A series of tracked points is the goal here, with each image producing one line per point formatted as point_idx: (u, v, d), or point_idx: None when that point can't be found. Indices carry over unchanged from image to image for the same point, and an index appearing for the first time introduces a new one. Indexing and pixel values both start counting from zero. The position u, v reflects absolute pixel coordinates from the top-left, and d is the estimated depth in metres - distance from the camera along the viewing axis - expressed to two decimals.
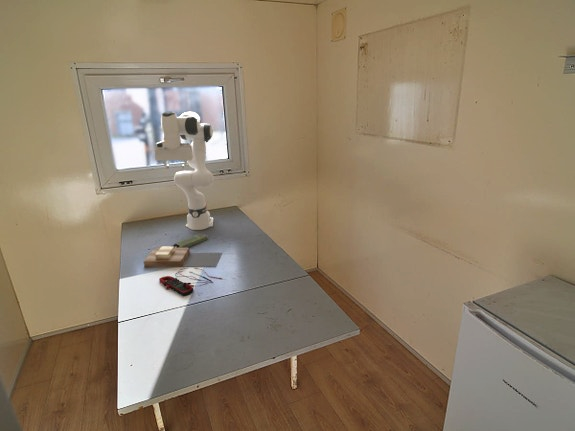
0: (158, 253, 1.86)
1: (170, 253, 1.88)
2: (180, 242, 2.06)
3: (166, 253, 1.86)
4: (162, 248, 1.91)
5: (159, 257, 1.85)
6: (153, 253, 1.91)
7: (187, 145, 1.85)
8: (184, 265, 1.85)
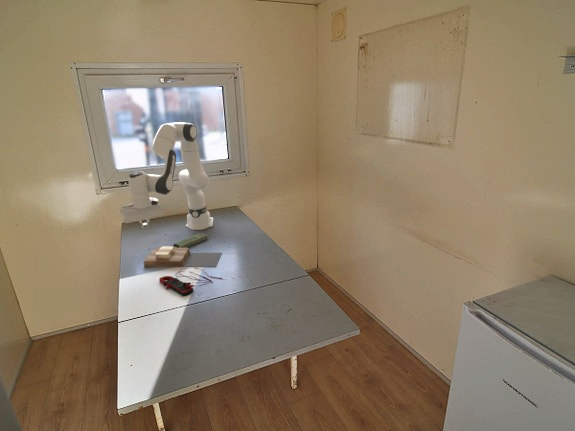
0: (158, 253, 1.86)
1: (170, 253, 1.88)
2: (180, 242, 2.06)
3: (166, 253, 1.86)
4: (162, 248, 1.91)
5: (159, 257, 1.85)
6: (153, 253, 1.91)
7: None
8: (184, 265, 1.85)
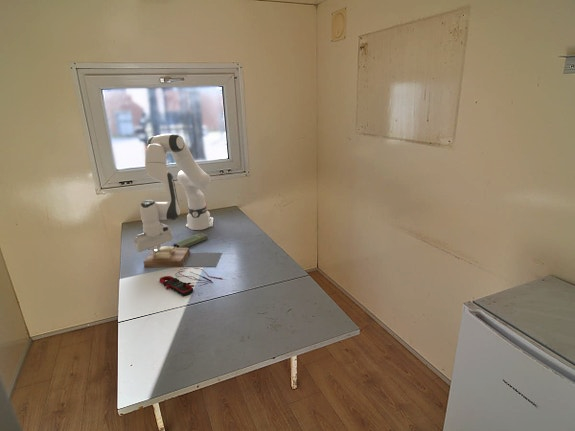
0: (158, 253, 1.86)
1: (170, 253, 1.88)
2: (180, 242, 2.06)
3: (166, 253, 1.86)
4: (162, 248, 1.91)
5: (159, 257, 1.85)
6: None
7: None
8: (184, 265, 1.85)
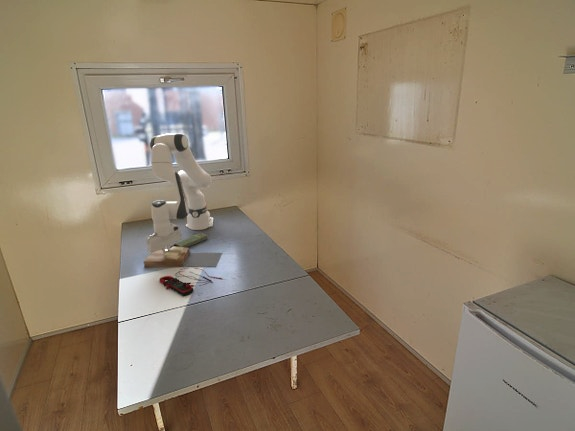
0: (167, 253, 1.85)
1: (179, 254, 1.87)
2: (180, 242, 2.06)
3: (174, 254, 1.85)
4: (172, 248, 1.91)
5: (168, 257, 1.85)
6: (153, 253, 1.91)
7: None
8: (184, 265, 1.85)
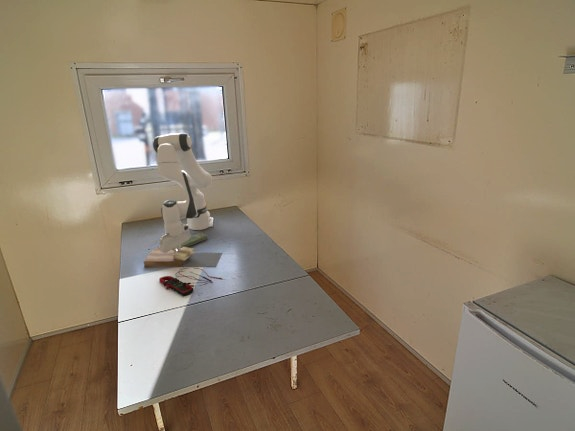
0: (176, 253, 1.85)
1: (187, 255, 1.86)
2: None
3: (183, 255, 1.84)
4: (182, 249, 1.90)
5: (176, 258, 1.84)
6: (153, 253, 1.91)
7: None
8: (184, 265, 1.85)
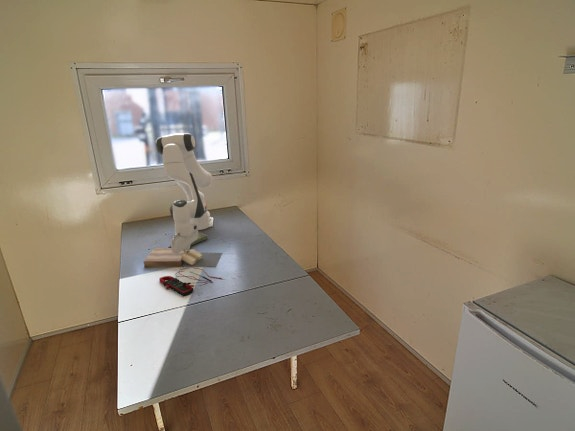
0: (185, 256, 1.84)
1: (196, 260, 1.86)
2: None
3: (192, 259, 1.83)
4: (191, 251, 1.90)
5: (184, 260, 1.84)
6: (153, 253, 1.91)
7: None
8: (184, 265, 1.85)
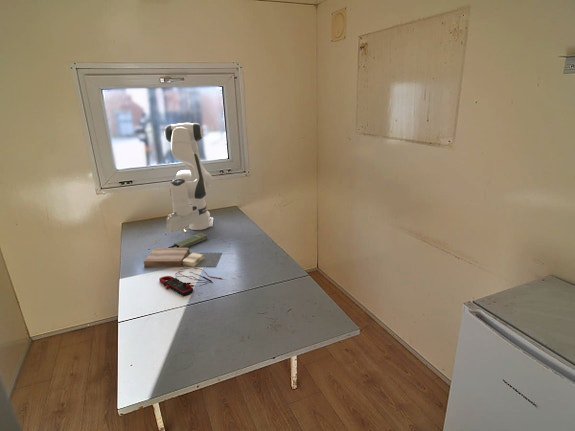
0: (185, 260, 1.85)
1: (197, 261, 1.86)
2: (180, 242, 2.06)
3: (192, 261, 1.84)
4: (192, 255, 1.90)
5: (185, 264, 1.84)
6: (153, 253, 1.91)
7: None
8: (184, 265, 1.85)
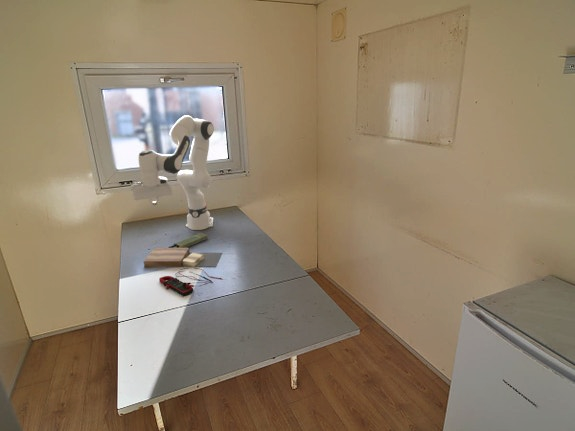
0: (185, 260, 1.85)
1: (197, 261, 1.86)
2: (180, 242, 2.06)
3: (192, 261, 1.84)
4: (192, 255, 1.90)
5: (185, 264, 1.84)
6: (153, 253, 1.91)
7: None
8: (184, 265, 1.85)
